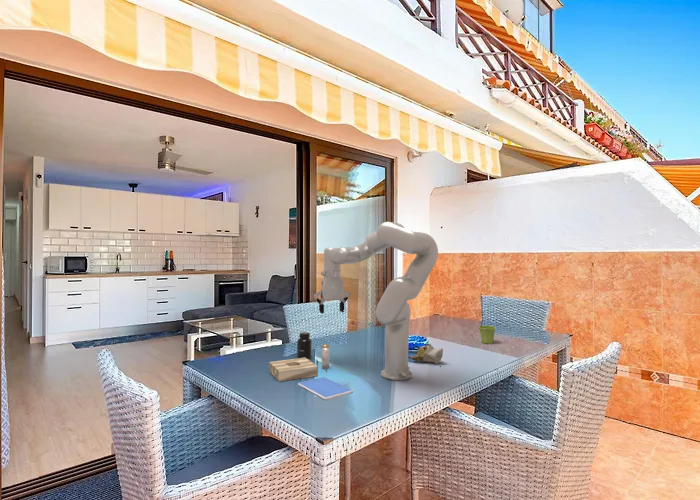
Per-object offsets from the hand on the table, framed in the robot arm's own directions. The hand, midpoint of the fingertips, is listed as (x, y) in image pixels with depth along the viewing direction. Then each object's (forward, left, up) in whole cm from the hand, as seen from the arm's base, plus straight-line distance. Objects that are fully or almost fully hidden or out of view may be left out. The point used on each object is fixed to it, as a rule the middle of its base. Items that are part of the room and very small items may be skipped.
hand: (331, 312), depth 175 cm
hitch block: (-7, +21, -23) cm, 32 cm away
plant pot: (-3, -94, -23) cm, 97 cm away
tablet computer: (-28, +16, -24) cm, 40 cm away
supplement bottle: (+12, +9, -23) cm, 27 cm away
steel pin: (-6, +6, -23) cm, 24 cm away
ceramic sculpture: (-18, -40, -23) cm, 50 cm away
